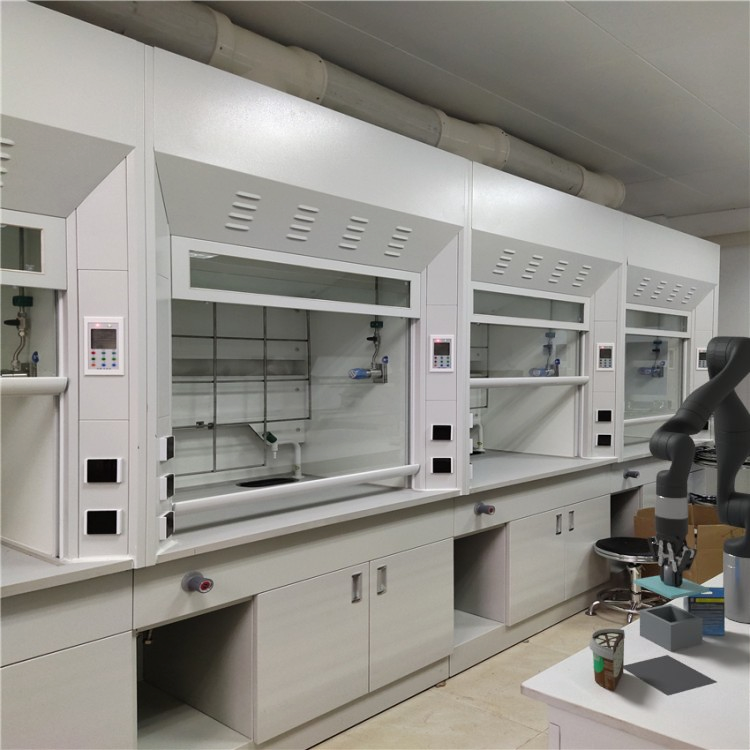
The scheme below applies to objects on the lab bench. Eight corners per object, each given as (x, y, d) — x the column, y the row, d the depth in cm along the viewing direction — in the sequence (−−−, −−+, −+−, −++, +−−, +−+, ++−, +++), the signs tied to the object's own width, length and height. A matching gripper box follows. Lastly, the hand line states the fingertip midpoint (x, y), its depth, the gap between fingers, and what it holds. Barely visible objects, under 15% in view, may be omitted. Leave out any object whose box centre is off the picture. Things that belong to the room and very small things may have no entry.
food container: (596, 666, 157) (596, 623, 157) (624, 672, 154) (624, 628, 154) (582, 690, 147) (582, 644, 146) (612, 697, 144) (612, 650, 143)
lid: (670, 576, 176) (670, 556, 176) (709, 591, 165) (709, 570, 165) (633, 583, 172) (633, 562, 172) (671, 599, 161) (671, 576, 161)
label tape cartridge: (718, 629, 176) (719, 582, 176) (725, 635, 172) (725, 587, 172) (682, 628, 177) (683, 581, 177) (688, 635, 173) (688, 586, 173)
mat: (667, 657, 161) (667, 654, 161) (717, 684, 148) (717, 681, 148) (620, 668, 156) (620, 666, 156) (667, 698, 143) (667, 695, 143)
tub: (670, 630, 176) (670, 603, 176) (702, 646, 167) (702, 618, 166) (639, 637, 172) (639, 610, 172) (670, 654, 163) (670, 625, 163)
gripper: (706, 518, 163) (705, 590, 164) (661, 506, 176) (660, 572, 177) (682, 522, 160) (682, 595, 161) (638, 509, 173) (637, 576, 174)
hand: (670, 583), depth 169 cm, fingers closed on lid, 3 cm apart
